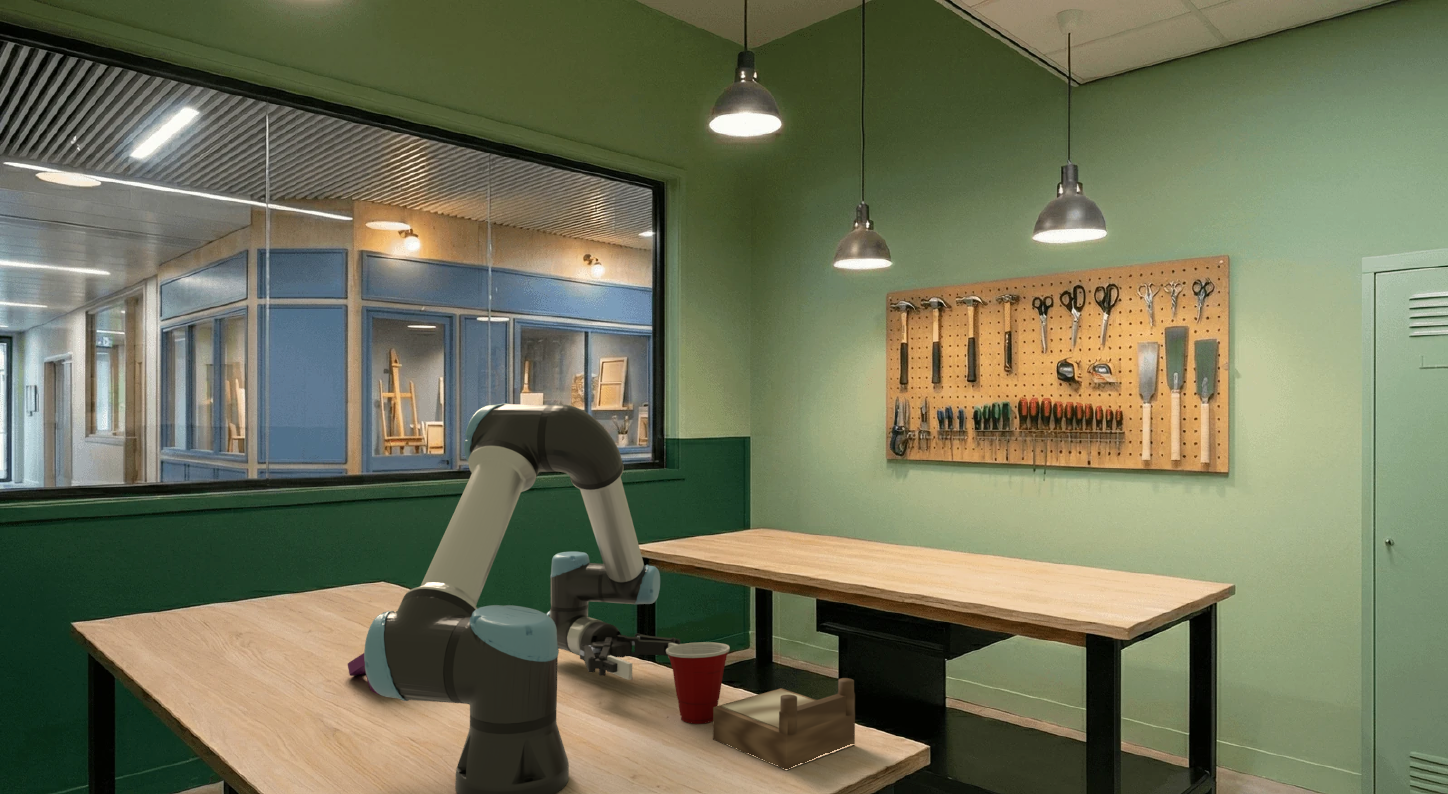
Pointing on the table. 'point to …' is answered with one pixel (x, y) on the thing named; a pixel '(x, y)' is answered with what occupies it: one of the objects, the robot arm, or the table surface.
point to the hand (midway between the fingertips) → (662, 664)
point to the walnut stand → (788, 724)
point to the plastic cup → (698, 678)
